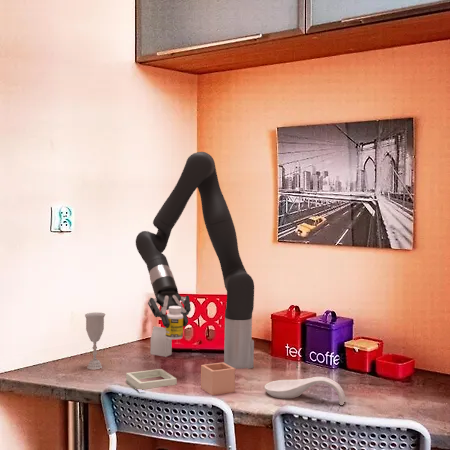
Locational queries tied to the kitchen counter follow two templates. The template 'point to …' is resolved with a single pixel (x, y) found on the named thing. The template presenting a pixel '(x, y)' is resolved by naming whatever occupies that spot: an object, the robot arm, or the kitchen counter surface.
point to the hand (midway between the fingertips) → (176, 325)
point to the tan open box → (217, 378)
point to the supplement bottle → (175, 323)
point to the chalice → (94, 334)
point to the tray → (134, 376)
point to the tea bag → (160, 342)
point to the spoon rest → (300, 387)
